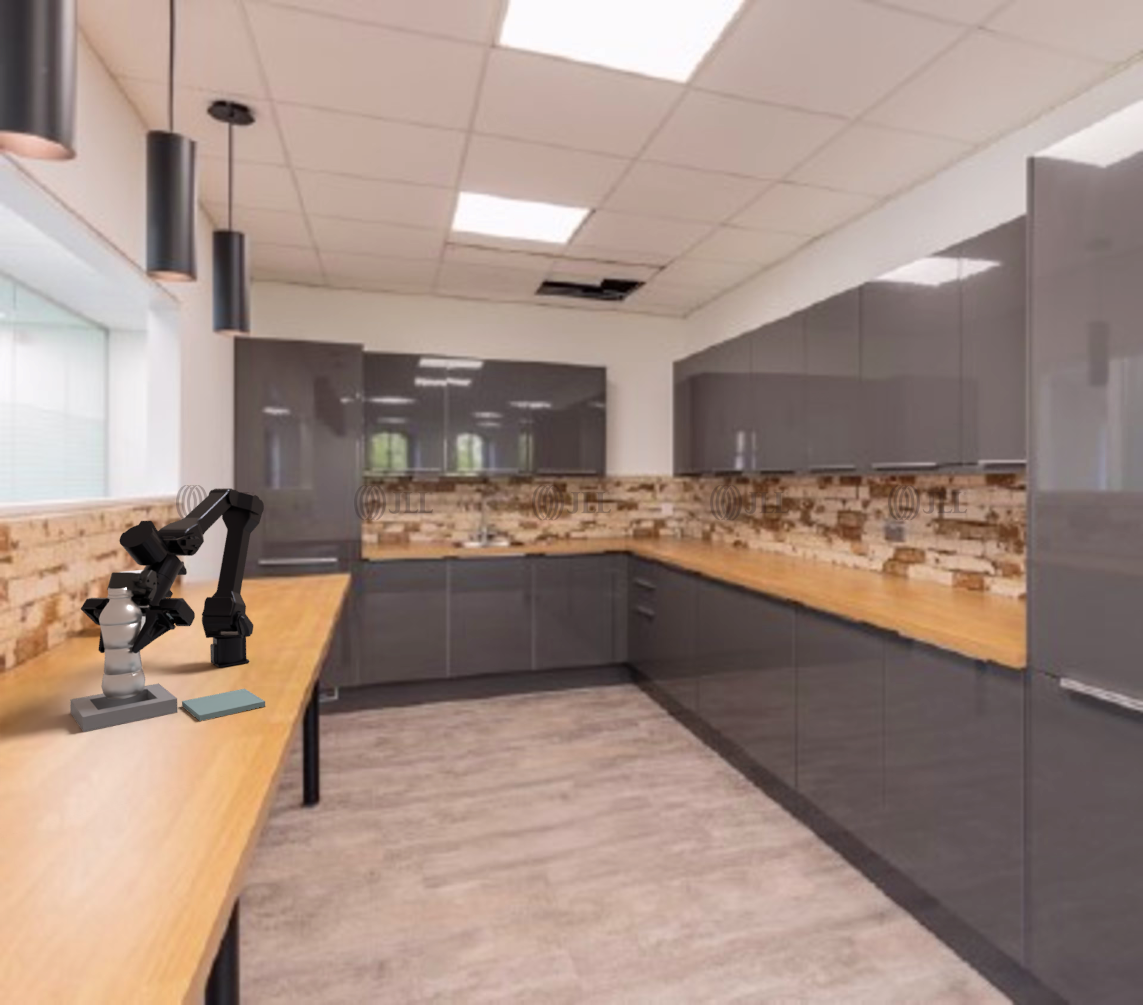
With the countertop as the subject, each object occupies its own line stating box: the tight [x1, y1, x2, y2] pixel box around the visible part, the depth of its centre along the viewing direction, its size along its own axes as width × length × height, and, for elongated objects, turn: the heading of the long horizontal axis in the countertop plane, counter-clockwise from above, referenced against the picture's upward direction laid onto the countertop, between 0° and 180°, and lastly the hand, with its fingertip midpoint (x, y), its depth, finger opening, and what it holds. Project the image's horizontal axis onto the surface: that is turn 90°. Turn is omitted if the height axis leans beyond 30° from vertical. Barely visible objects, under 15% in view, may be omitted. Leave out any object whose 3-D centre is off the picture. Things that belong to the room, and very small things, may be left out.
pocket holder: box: [69, 682, 178, 733], centre depth 125 cm, size 14×13×2 cm
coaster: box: [181, 688, 266, 722], centre depth 128 cm, size 11×11×1 cm
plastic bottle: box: [99, 587, 146, 699], centre depth 124 cm, size 6×7×20 cm
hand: (117, 652), depth 123 cm, fingers closed on plastic bottle, 6 cm apart
